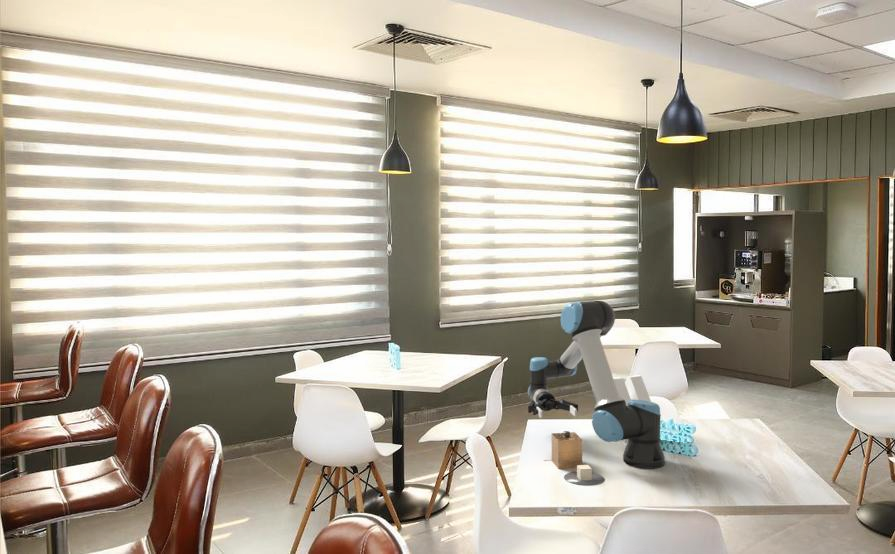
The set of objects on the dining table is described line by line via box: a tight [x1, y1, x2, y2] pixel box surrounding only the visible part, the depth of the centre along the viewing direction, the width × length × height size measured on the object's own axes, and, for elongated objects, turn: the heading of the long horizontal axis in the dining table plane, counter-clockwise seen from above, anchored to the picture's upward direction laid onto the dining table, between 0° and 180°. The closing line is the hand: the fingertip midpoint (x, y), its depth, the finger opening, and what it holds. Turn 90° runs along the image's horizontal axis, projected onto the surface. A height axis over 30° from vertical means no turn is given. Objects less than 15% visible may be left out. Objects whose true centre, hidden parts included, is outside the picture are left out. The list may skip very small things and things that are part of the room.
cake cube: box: [576, 464, 593, 481], centre depth 236 cm, size 4×4×4 cm
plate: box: [563, 470, 606, 487], centre depth 236 cm, size 14×14×1 cm
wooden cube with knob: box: [551, 430, 583, 470], centre depth 250 cm, size 9×9×13 cm
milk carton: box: [613, 374, 652, 444], centre depth 289 cm, size 19×15×25 cm
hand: (558, 414), depth 260 cm, fingers open, 13 cm apart
